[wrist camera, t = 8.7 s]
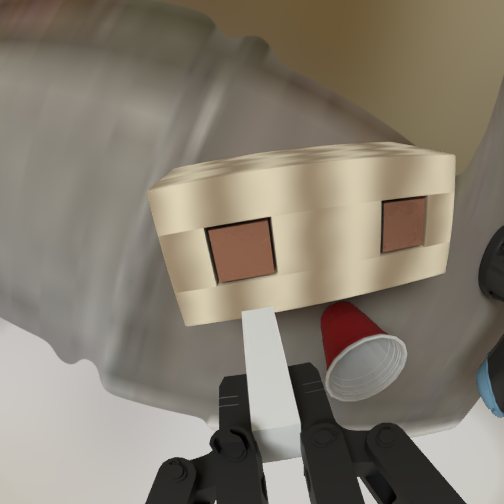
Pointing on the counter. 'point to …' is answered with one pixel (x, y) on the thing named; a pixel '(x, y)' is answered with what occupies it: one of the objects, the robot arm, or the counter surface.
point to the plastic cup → (358, 354)
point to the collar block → (302, 224)
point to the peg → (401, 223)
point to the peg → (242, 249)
